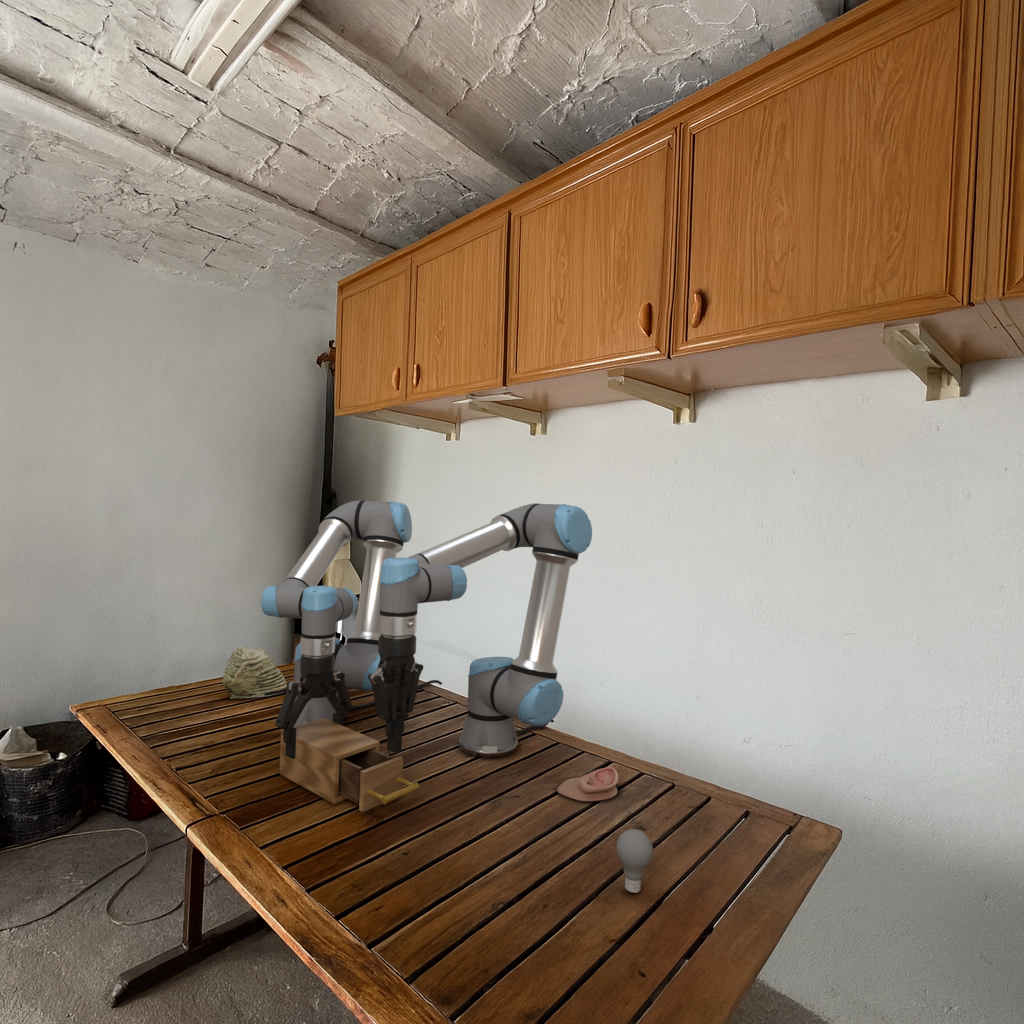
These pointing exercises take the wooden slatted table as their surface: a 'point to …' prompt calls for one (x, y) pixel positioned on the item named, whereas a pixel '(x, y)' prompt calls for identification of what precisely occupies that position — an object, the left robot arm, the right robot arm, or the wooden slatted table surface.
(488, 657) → the right robot arm
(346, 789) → the drawer
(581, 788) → the anatomical model
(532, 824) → the wooden slatted table surface
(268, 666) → the fossil
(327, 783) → the cabinet
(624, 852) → the light bulb
